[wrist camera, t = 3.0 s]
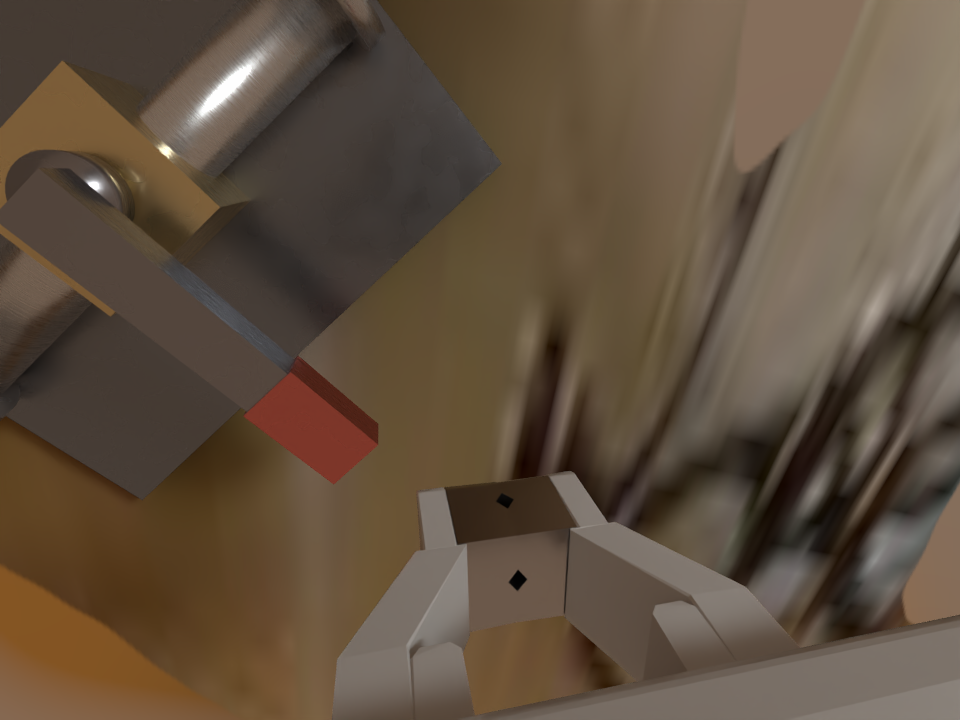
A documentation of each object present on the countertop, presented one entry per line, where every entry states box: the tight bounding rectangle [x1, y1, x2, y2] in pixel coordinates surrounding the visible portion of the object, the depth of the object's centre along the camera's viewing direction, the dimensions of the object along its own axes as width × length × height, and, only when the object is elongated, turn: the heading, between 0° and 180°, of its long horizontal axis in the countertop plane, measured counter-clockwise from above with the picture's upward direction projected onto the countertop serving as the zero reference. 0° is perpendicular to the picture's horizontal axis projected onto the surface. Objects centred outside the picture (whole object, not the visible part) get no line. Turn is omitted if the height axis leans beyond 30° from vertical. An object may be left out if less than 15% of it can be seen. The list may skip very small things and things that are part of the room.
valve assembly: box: [0, 0, 502, 500], centre depth 23 cm, size 30×22×7 cm
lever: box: [0, 150, 378, 484], centre depth 21 cm, size 17×4×4 cm, turn 41°
